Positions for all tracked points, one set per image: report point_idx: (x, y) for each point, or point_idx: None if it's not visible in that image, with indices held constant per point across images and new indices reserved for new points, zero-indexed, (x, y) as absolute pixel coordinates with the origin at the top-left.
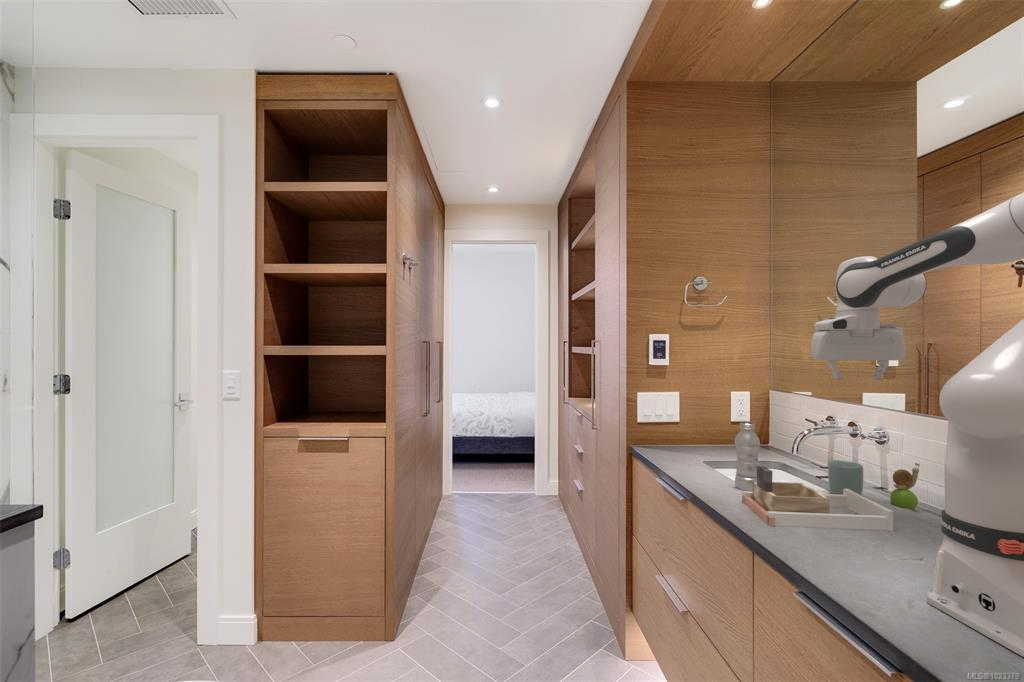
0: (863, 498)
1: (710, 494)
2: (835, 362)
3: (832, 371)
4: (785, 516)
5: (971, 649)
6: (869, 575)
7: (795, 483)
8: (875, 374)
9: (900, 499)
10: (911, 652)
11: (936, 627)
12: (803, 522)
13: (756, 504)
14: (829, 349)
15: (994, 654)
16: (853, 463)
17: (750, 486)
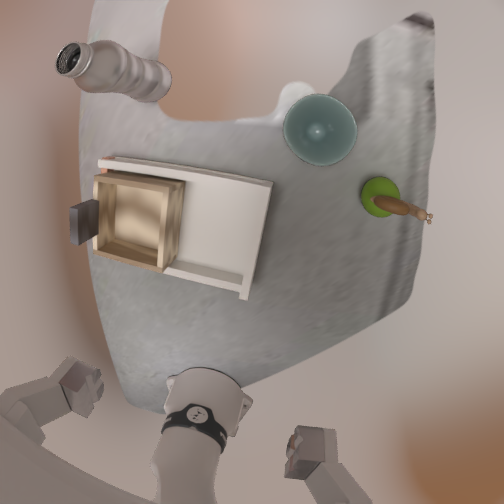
0: (251, 243)
1: (95, 101)
2: (31, 438)
3: (51, 379)
4: None
5: (157, 403)
6: (152, 344)
7: (155, 190)
8: (291, 456)
9: (365, 206)
10: (126, 395)
11: (153, 391)
12: None
13: None
14: None
15: None
16: (351, 122)
17: (141, 101)
